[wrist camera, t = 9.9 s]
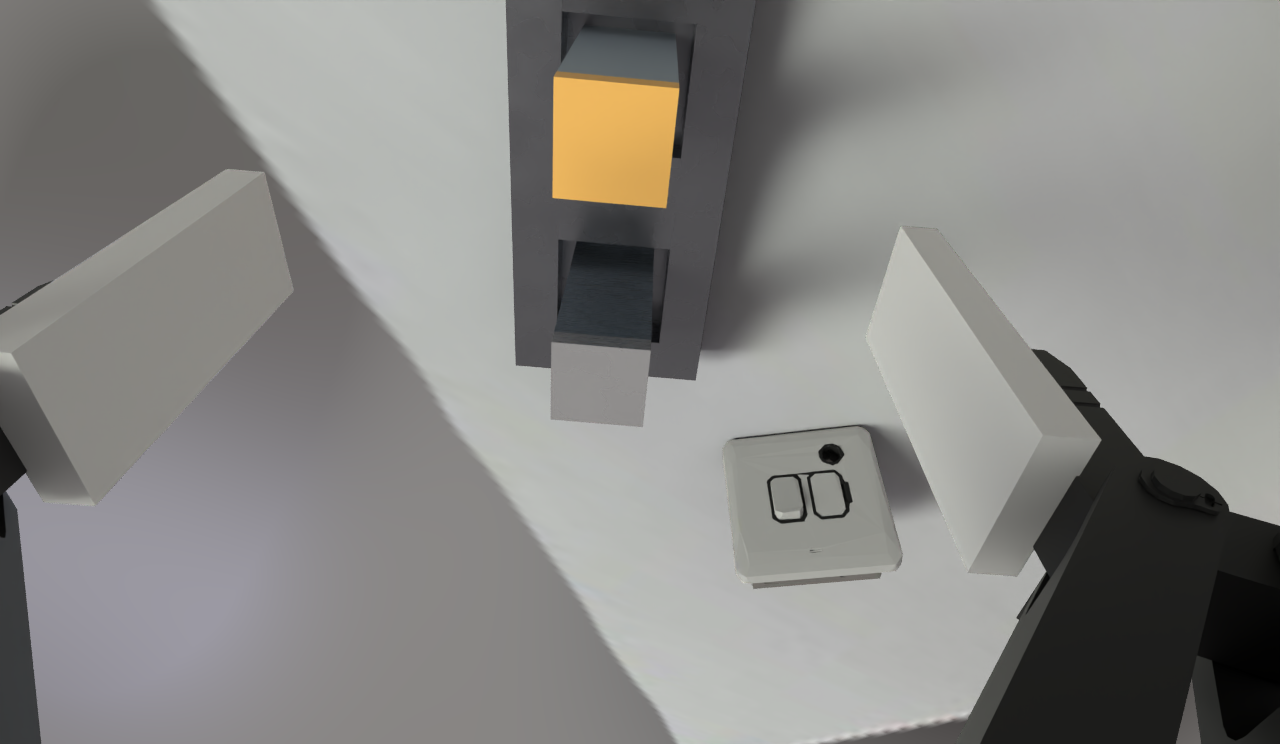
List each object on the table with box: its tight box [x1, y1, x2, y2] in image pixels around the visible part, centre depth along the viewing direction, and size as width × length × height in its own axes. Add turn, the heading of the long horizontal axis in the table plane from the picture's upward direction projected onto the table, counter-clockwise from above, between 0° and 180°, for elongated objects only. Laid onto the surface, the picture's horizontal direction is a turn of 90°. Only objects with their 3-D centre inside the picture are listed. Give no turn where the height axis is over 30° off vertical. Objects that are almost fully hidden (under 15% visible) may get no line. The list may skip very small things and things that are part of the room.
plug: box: [553, 25, 679, 208], centre depth 27 cm, size 4×4×10 cm
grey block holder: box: [506, 0, 756, 427], centre depth 30 cm, size 10×20×11 cm, turn 175°
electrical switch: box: [723, 426, 903, 589], centre depth 42 cm, size 9×5×9 cm, turn 100°
